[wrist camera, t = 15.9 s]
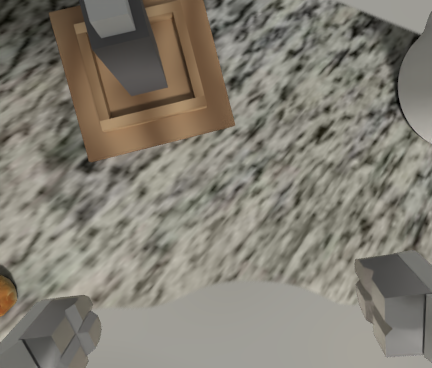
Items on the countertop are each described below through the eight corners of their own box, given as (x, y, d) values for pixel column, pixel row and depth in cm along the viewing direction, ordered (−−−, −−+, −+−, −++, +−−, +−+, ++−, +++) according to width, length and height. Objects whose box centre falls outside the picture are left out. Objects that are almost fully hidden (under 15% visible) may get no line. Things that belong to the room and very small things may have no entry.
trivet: (197, -17, 31) (197, -30, 29) (234, 126, 32) (236, 122, 30) (52, 17, 31) (42, 5, 29) (92, 162, 31) (84, 160, 29)
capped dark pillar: (156, 43, 31) (123, -58, 18) (168, 87, 31) (143, 19, 18) (119, 51, 30) (58, -44, 17) (131, 96, 31) (79, 35, 18)
